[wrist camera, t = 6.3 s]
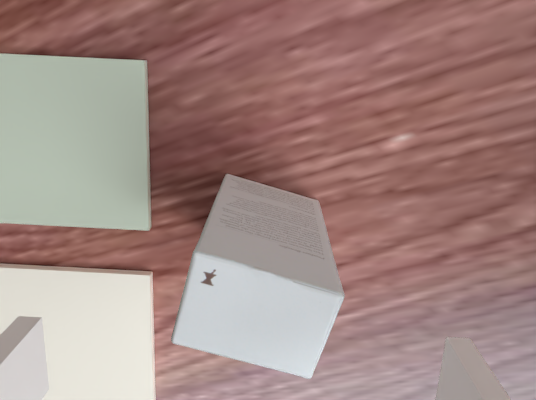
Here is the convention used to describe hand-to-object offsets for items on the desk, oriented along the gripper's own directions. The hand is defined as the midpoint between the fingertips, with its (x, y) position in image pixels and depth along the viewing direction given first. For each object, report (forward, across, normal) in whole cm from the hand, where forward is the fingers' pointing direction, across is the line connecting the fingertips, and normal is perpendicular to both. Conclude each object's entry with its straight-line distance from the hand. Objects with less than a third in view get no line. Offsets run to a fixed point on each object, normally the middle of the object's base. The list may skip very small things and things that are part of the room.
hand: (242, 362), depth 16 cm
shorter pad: (+15, +13, -4) cm, 20 cm away
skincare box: (+15, 0, 0) cm, 15 cm away
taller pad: (+15, +13, +9) cm, 22 cm away
